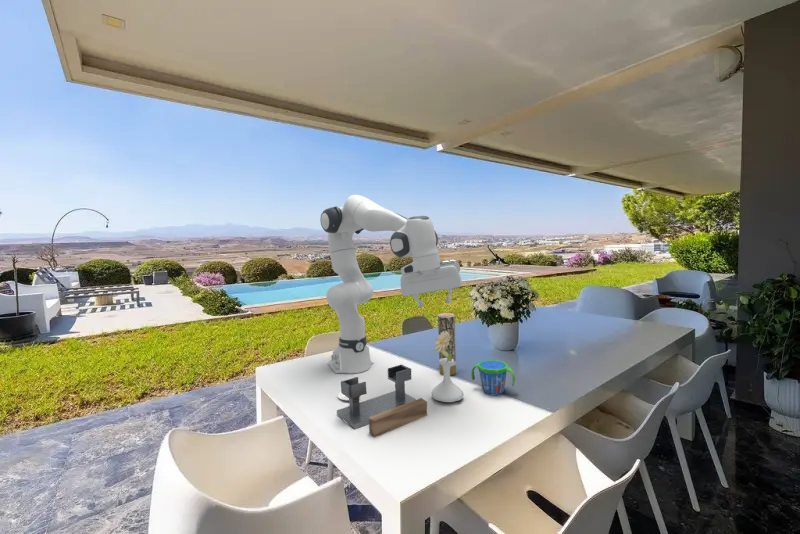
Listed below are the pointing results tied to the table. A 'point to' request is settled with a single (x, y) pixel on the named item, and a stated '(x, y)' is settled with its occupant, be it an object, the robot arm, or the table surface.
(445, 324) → the grey wooden cylinder
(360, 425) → the bracket stand
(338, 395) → the pale veined leaf
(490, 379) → the snack cup
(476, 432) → the table surface
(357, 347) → the robot arm
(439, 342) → the flower in vase
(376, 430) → the walnut rail
